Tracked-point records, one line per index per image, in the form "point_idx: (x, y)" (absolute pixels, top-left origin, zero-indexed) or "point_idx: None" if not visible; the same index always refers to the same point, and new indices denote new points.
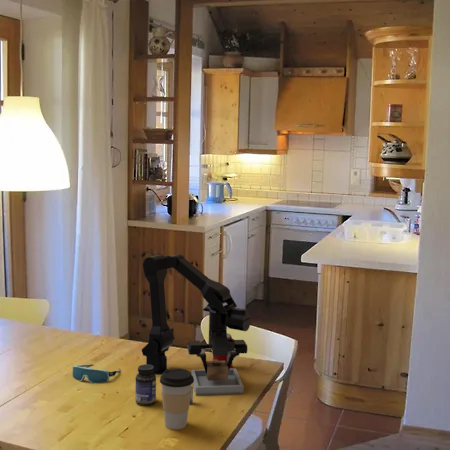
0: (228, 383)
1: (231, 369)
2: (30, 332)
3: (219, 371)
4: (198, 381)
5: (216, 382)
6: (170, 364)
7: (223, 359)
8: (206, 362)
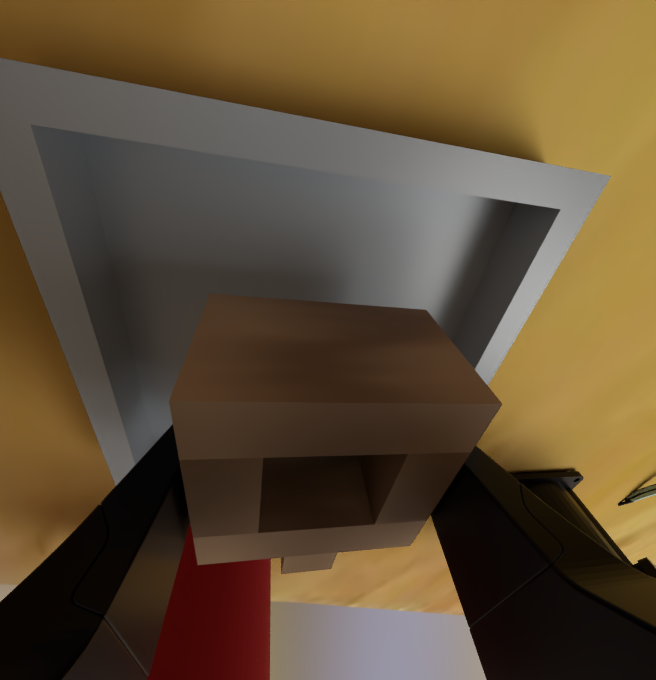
0: None
1: None
2: None
3: (323, 364)
4: None
5: None
6: (435, 532)
7: (207, 574)
8: (505, 511)
